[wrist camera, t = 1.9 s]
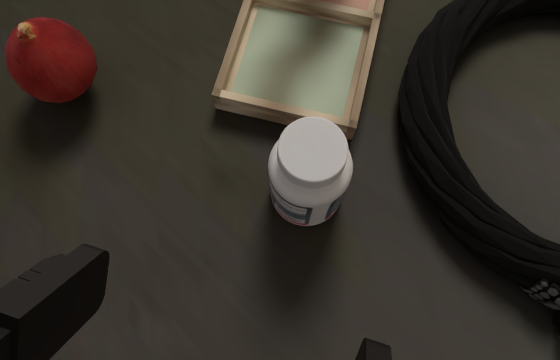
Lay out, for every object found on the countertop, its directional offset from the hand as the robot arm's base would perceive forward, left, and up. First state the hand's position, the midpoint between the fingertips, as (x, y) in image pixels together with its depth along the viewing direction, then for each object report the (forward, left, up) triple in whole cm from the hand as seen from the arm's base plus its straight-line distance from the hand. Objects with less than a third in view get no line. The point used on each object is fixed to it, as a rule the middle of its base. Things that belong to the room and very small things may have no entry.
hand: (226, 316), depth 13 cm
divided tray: (+2, -25, -18) cm, 30 cm away
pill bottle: (-1, -10, -18) cm, 20 cm away
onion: (+19, -14, -18) cm, 29 cm away
